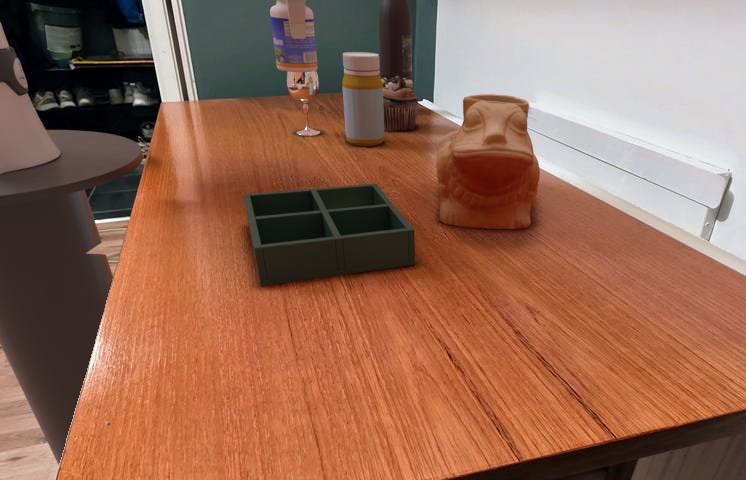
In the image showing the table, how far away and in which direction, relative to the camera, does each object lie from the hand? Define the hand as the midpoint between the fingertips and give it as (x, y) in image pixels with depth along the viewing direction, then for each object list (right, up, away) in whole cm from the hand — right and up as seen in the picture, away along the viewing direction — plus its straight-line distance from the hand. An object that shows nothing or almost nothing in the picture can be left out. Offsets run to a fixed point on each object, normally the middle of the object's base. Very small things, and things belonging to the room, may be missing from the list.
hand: (294, 36), depth 72 cm
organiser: (+7, -29, -10) cm, 32 cm away
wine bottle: (+5, +10, +56) cm, 57 cm away
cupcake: (+7, +2, +42) cm, 42 cm away
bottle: (+3, -5, +30) cm, 30 cm away
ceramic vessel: (+25, -22, +4) cm, 34 cm away
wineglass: (-9, -2, +33) cm, 35 cm away
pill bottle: (0, -4, +2) cm, 4 cm away
